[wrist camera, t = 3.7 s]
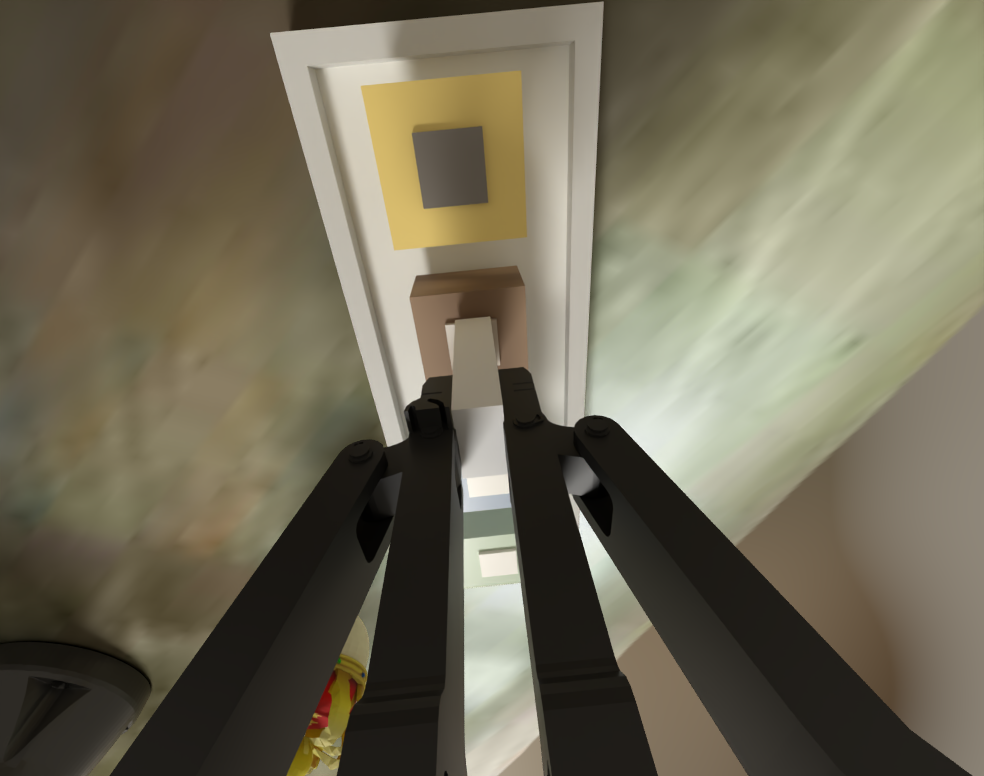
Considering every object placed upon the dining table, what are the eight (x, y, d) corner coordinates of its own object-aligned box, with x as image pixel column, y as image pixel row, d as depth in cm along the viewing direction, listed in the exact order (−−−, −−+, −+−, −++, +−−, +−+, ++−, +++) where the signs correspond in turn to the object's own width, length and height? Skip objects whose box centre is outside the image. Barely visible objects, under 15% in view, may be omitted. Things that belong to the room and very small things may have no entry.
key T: (432, 363, 22) (428, 396, 19) (416, 275, 20) (408, 299, 17) (521, 354, 22) (529, 386, 19) (516, 265, 20) (525, 287, 17)
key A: (404, 232, 17) (393, 251, 15) (377, 92, 15) (359, 85, 12) (517, 221, 17) (527, 238, 15) (511, 80, 15) (521, 69, 12)
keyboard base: (421, 533, 32) (418, 555, 31) (289, 42, 16) (269, 33, 15) (572, 517, 33) (578, 539, 31) (589, 14, 17) (603, 1, 15)
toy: (320, 522, 31) (223, 793, 18) (407, 551, 34) (374, 807, 21) (288, 573, 34) (186, 836, 21) (370, 596, 37) (321, 845, 24)
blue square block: (449, 474, 25) (448, 517, 22) (437, 410, 22) (434, 448, 20) (528, 466, 25) (536, 507, 22) (525, 400, 22) (534, 438, 20)
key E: (463, 548, 29) (463, 591, 26) (454, 500, 26) (453, 543, 23) (532, 540, 29) (539, 583, 26) (529, 492, 26) (537, 534, 23)
